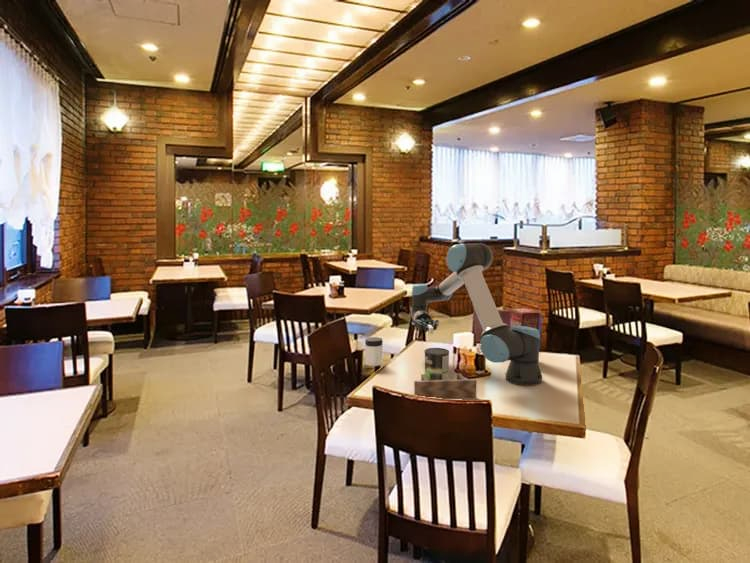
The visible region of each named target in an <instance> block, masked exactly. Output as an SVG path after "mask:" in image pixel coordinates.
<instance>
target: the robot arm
mask: <svg viewBox="0 0 750 563" xmlns="http://www.w3.org/2000/svg"><path fill="white" fill-rule="evenodd" d="M493 260H494V253H493V251H492V249H491V247H490V246H488V245H487V244H485V243H482V242H478V243H477V242H475V243H458V244H453V245H452V246H451V247H450V248H449V249H448V251H447V255H446V266H447V268H448V269H449V271H451V272H452V273H451V274H450V275H448V277H446V278H445V279H444V280H442V281H441V283H439V284H438V285H436V286H429V287H428V284H427V283H426V284H425V283H414V284H413V285H412V288H411V290H412V291H411V298H412V301H411V302H412V304H411V311H410V317H411V319H412V320H411V326H412V327H414V328H417V329H418V330H421V331H423V330H424V333H427V332H428V334H430V335H433V334H434V331H437V328H438V327H439V324H440V322H439V320H438V319H432V317H431V316H430V314H429V313H428V303H434V302H444V301H449V300H450V299H452V297H453V296H452V295H453V294H454V293H455V292H456V291H457V290H458V289H459V288H460V287H462V286H463V285H465V289H466V290H467V293H468V296H469V298H470V300H471V301H470V302H472V307H473V308H474V311H475V313H476V315H477V317H478V321H479V323H480V325H481V328H482V332H481V334H480V336H481V339H480V350H481V354H483V356H484V358H485V359H486V360H487V361H489V362H491V363H496V364H498V363H505V362H507V361H509V363H508V367H507V368H506V369H507V370H506V371H505V380H506V381H507V382H508V383H511V384H515V385H519V386H536V385H540V384H541V383H543V374H542V371H541V367H540V363H539V362H540V361H539V359H540V341H541V338H540V336H541V335H540V330H539V331H538V330H537V329H535V328H531V327H525V326H512V328H511V331H510V325H508V324H507V323H504V322H503V319H502V318H501V316H500V315H501V314H500V313H499V311H498V308H497V306H496V304H495V301H494V298H493V295H492V294H491V291H490V289H489V287H488V284H487V283H486V280H485V277H484V275H483V272H485V271H486V270H487V269H489V267H490V266H491V264H492V263H493Z"/></svg>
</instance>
